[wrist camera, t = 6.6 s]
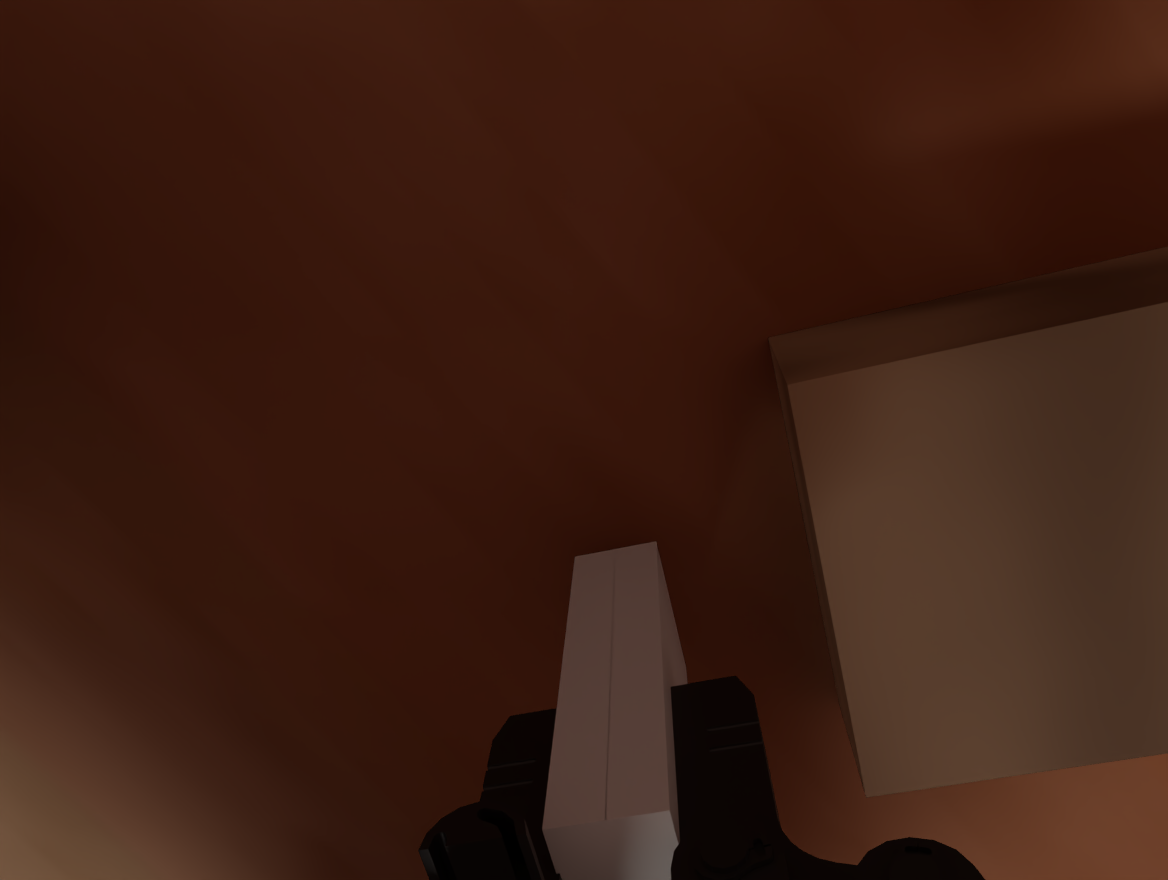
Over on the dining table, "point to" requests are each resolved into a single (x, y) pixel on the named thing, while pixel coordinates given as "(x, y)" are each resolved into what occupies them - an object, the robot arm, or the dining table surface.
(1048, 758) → the tan square block
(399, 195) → the dining table surface
